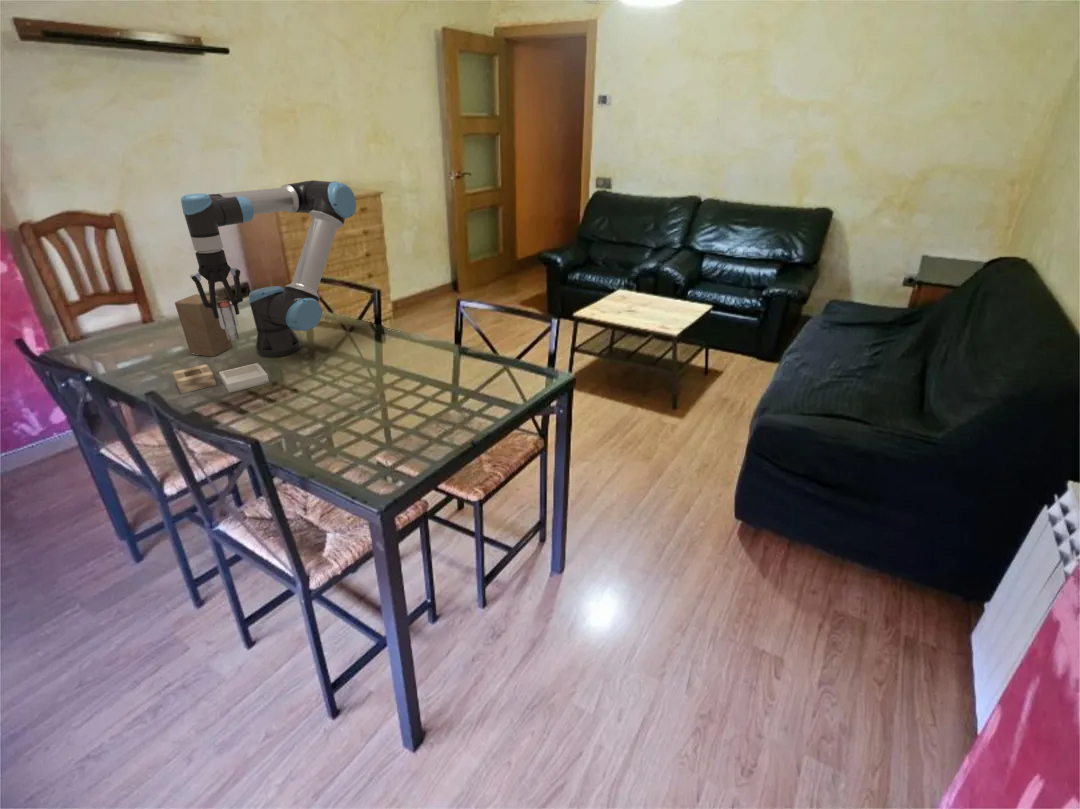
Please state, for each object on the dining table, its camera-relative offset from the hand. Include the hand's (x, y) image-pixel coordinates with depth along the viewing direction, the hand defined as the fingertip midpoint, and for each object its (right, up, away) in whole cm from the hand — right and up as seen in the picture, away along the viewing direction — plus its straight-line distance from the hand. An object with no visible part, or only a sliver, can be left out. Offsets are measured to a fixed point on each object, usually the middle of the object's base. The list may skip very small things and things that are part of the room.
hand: (229, 326), depth 176 cm
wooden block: (-25, -5, +33) cm, 41 cm away
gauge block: (-15, -18, +7) cm, 25 cm away
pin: (0, -4, +2) cm, 4 cm away
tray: (0, -17, +9) cm, 19 cm away
